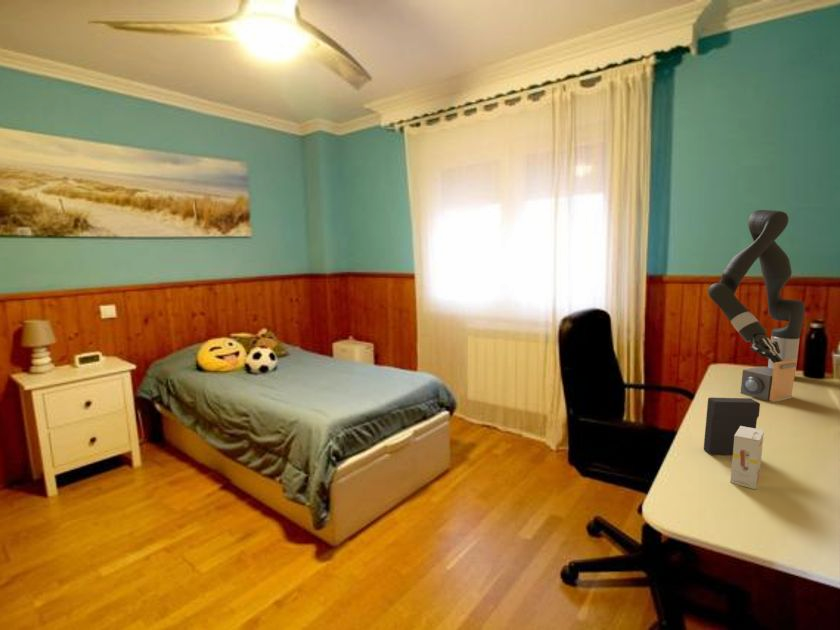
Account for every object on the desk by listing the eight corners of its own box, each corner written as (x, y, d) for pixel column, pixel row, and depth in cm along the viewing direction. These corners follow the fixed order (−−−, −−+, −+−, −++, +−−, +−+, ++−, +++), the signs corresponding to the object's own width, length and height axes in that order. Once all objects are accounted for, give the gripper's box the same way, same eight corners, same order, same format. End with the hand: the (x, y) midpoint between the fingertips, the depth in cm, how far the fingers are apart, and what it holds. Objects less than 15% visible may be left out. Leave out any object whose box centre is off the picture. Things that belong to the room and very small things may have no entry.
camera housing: (760, 391, 166) (763, 366, 165) (787, 398, 158) (790, 372, 157) (736, 396, 161) (739, 370, 160) (763, 404, 153) (766, 376, 151)
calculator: (744, 450, 118) (749, 397, 116) (754, 457, 114) (760, 402, 112) (701, 448, 119) (706, 396, 117) (710, 455, 115) (715, 401, 113)
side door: (787, 398, 158) (793, 359, 155) (793, 399, 156) (799, 360, 154) (768, 402, 154) (774, 362, 151) (774, 404, 152) (780, 363, 149)
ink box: (735, 469, 108) (739, 424, 106) (760, 476, 104) (765, 429, 103) (728, 482, 102) (733, 434, 100) (755, 490, 98) (760, 441, 97)
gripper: (745, 321, 158) (779, 362, 149) (767, 319, 163) (802, 358, 153) (728, 333, 164) (760, 373, 154) (751, 331, 169) (783, 369, 159)
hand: (781, 365), depth 154 cm, fingers closed
